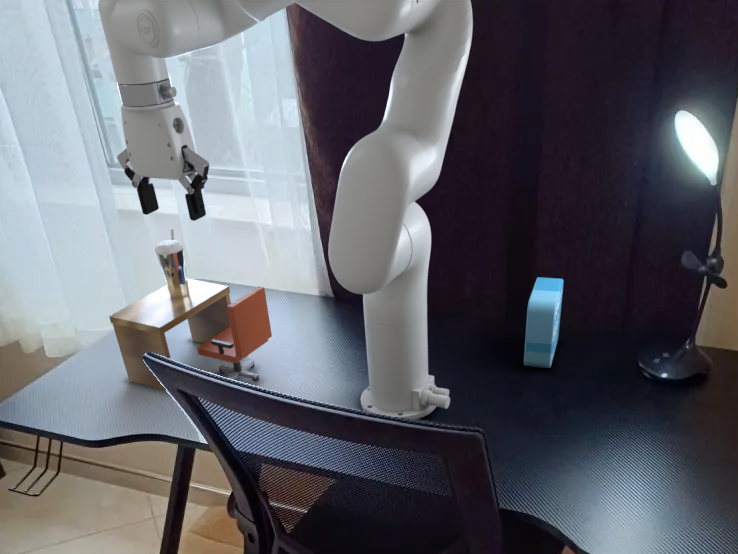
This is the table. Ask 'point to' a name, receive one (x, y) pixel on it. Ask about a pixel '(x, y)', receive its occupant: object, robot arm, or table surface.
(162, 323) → the desk
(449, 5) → the robot arm
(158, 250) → the milkshake
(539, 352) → the data package
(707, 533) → the table surface
